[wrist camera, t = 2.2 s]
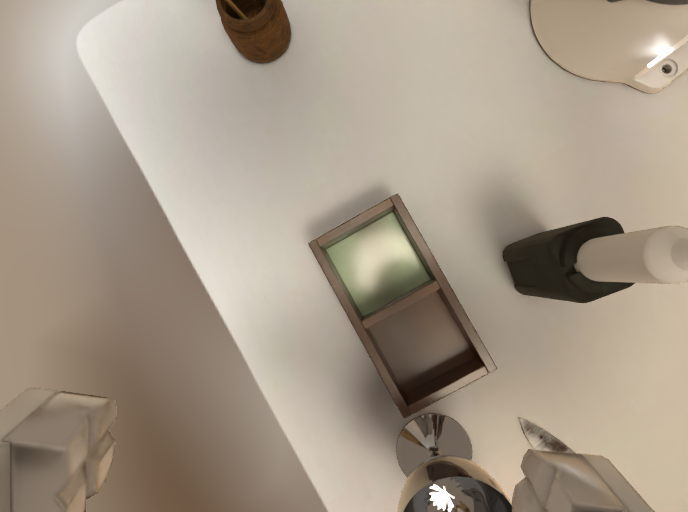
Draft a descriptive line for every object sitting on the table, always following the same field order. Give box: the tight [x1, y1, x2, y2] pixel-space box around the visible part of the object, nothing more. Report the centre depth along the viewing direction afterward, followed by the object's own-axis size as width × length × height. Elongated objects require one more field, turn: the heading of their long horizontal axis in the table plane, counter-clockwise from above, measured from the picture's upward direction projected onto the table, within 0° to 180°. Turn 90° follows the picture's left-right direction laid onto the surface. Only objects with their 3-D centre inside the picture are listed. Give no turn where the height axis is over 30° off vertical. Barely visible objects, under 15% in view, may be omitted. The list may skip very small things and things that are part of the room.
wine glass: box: [396, 414, 512, 512], centre depth 37 cm, size 8×8×15 cm
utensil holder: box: [216, 0, 291, 63], centre depth 42 cm, size 6×6×12 cm
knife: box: [519, 418, 575, 454], centre depth 43 cm, size 18×1×5 cm
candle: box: [503, 217, 688, 303], centre depth 32 cm, size 5×5×25 cm
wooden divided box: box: [308, 194, 497, 418], centre depth 43 cm, size 9×17×5 cm, turn 29°
